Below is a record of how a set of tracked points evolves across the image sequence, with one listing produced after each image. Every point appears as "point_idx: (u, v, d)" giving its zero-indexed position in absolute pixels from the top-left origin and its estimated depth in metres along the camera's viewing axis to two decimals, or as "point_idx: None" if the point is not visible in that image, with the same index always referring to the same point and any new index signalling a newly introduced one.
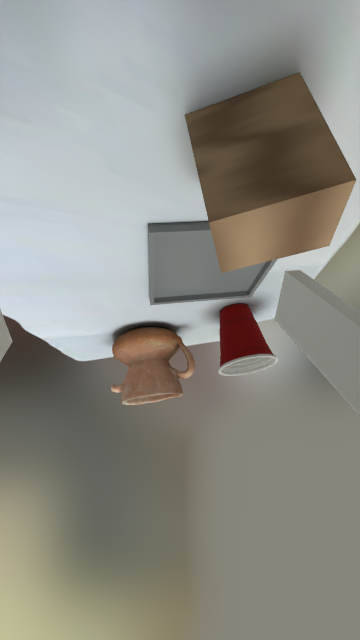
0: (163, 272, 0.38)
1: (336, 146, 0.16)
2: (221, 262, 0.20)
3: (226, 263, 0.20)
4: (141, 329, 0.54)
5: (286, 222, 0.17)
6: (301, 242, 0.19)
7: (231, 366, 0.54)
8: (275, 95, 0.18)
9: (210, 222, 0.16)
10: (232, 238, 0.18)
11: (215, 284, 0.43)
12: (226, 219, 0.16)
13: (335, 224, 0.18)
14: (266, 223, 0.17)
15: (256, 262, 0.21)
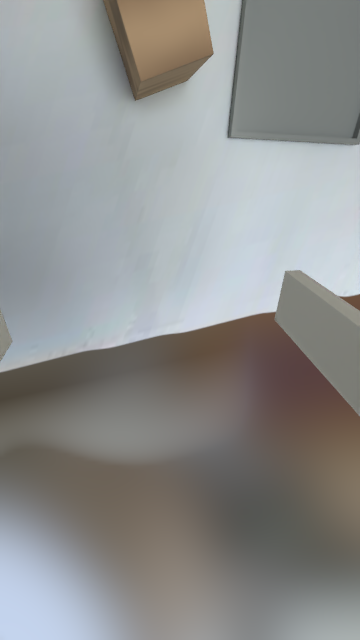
0: (303, 121, 0.33)
1: None
2: (194, 57, 0.21)
3: (197, 49, 0.21)
4: None
5: None
6: None
7: None
8: (110, 18, 0.25)
9: (141, 80, 0.21)
10: (160, 51, 0.21)
11: None
12: (138, 63, 0.21)
13: None
14: (143, 15, 0.20)
15: (201, 4, 0.20)
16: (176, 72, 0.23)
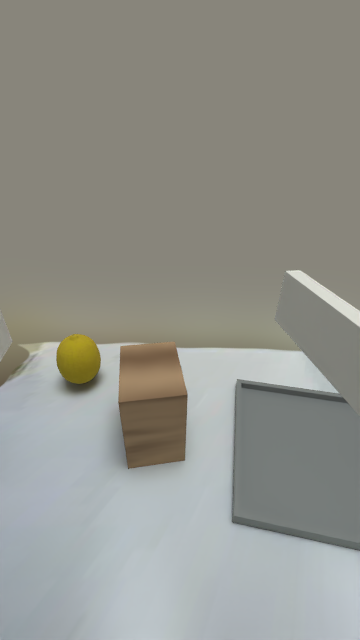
0: (337, 518, 0.25)
1: None
2: (170, 394, 0.24)
3: (173, 391, 0.25)
4: None
5: (139, 365, 0.28)
6: (164, 354, 0.29)
7: None
8: None
9: (118, 401, 0.24)
10: (142, 389, 0.25)
11: (357, 444, 0.31)
12: (120, 393, 0.24)
13: (153, 344, 0.31)
14: (135, 373, 0.27)
15: (180, 373, 0.27)
16: (157, 414, 0.25)
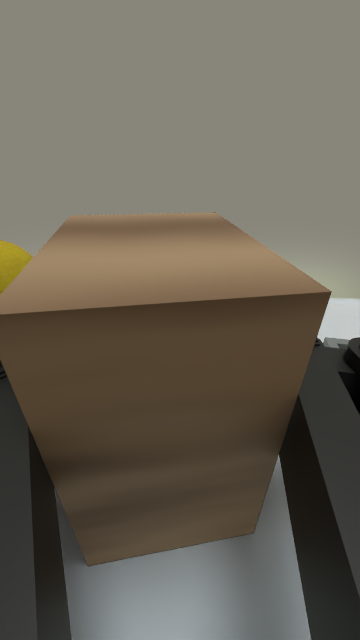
0: None
1: None
2: (252, 291, 0.05)
3: (258, 283, 0.05)
4: None
5: (117, 235, 0.08)
6: (194, 224, 0.10)
7: None
8: None
9: None
10: (119, 278, 0.06)
11: None
12: (14, 288, 0.05)
13: (159, 214, 0.11)
14: (99, 248, 0.07)
15: (260, 248, 0.07)
16: (187, 388, 0.06)
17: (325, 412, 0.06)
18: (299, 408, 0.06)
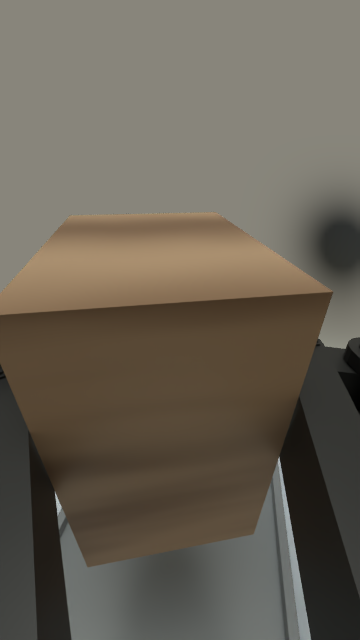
0: None
1: None
2: (253, 292, 0.05)
3: (259, 283, 0.05)
4: None
5: (117, 235, 0.08)
6: (194, 224, 0.10)
7: None
8: None
9: None
10: (119, 278, 0.06)
11: (236, 541, 0.21)
12: (13, 287, 0.05)
13: (159, 214, 0.11)
14: (99, 248, 0.07)
15: (261, 248, 0.07)
16: (188, 389, 0.06)
17: (325, 412, 0.06)
18: (299, 408, 0.06)
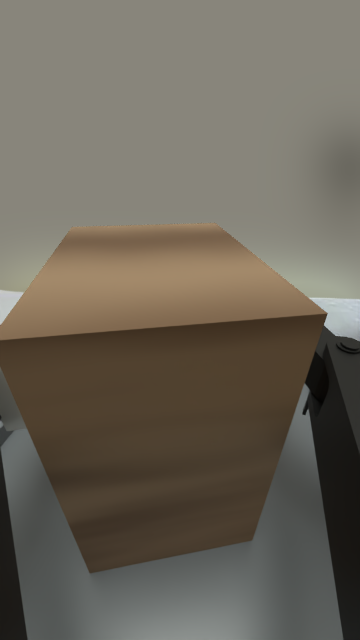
0: None
1: None
2: (250, 313, 0.05)
3: (257, 304, 0.06)
4: None
5: (118, 250, 0.09)
6: (194, 236, 0.10)
7: None
8: None
9: None
10: (121, 298, 0.06)
11: None
12: (20, 309, 0.05)
13: (160, 225, 0.12)
14: (101, 264, 0.07)
15: (259, 264, 0.08)
16: (188, 405, 0.06)
17: None
18: (343, 412, 0.06)
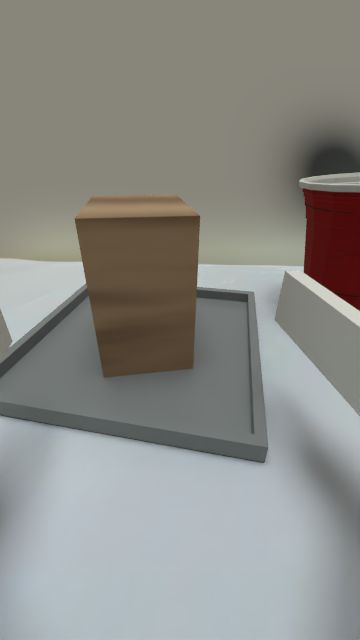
0: (125, 402, 0.16)
1: None
2: (170, 215, 0.14)
3: (174, 214, 0.14)
4: None
5: (119, 202, 0.17)
6: (160, 199, 0.18)
7: None
8: None
9: (75, 218, 0.13)
10: (120, 212, 0.14)
11: (211, 333, 0.23)
12: (81, 214, 0.14)
13: (143, 195, 0.20)
14: (111, 206, 0.16)
15: (186, 206, 0.16)
16: (148, 258, 0.14)
17: None
18: None
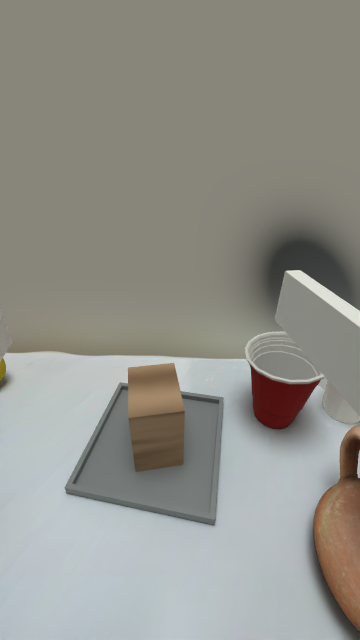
0: (148, 489, 0.32)
1: None
2: (170, 411, 0.30)
3: (173, 408, 0.30)
4: None
5: (144, 384, 0.33)
6: (165, 375, 0.34)
7: (321, 373, 0.35)
8: None
9: (128, 417, 0.29)
10: (147, 406, 0.30)
11: (194, 435, 0.39)
12: (129, 410, 0.30)
13: (155, 365, 0.36)
14: (141, 392, 0.32)
15: (178, 392, 0.32)
16: (160, 426, 0.30)
17: None
18: None
